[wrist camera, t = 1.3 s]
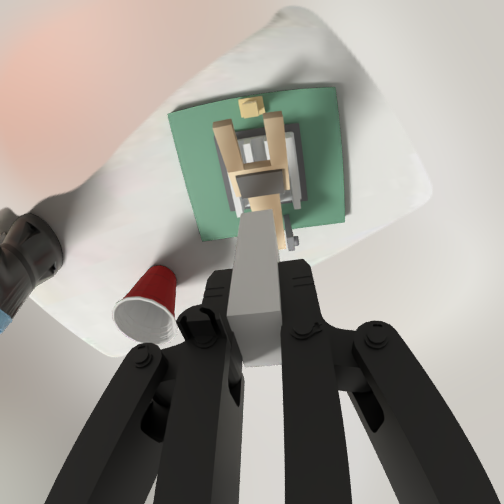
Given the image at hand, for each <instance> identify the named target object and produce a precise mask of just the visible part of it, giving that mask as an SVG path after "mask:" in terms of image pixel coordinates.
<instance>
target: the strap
mask: <svg viewBox="0 0 504 504" xmlns="http://www.w3.org/2000/svg"><path fill="white" fill-rule="evenodd" d="M262 114H263V120H264V125H265V131H266V137H267V143H268V149H269V155H270V160H264V161H257V162H251V163H243V159H242V155H241V152H240V148H239V144H238V141H237V137H236V134H235V130H234V126H233V123H232V119H226V120H221V121H216V122H213V131H214V134H215V137H216V140H217V143H218V146H219V149H220V152H221V154H222V157H223V160H224V163H225V166H226V169H227V172H228V175H229V178H230V180H231V183H232V186H233V189H234V192H235V195H236V197H242V199H245V198H248V200H249V203H250V207H251V210H252V212H254V211H261V210H268V209H272V210H273V217H274V223H275V230H276V237H277V244H278V250H280V249H286V244H285V236H284V227H283V219H282V211H281V203H280V195H279V194H280V193H285V191H284V190H290V183H289V171H288V160H287V150H286V140H285V130H284V121H283V115H282V111H275V112H268V113H262Z"/></svg>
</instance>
